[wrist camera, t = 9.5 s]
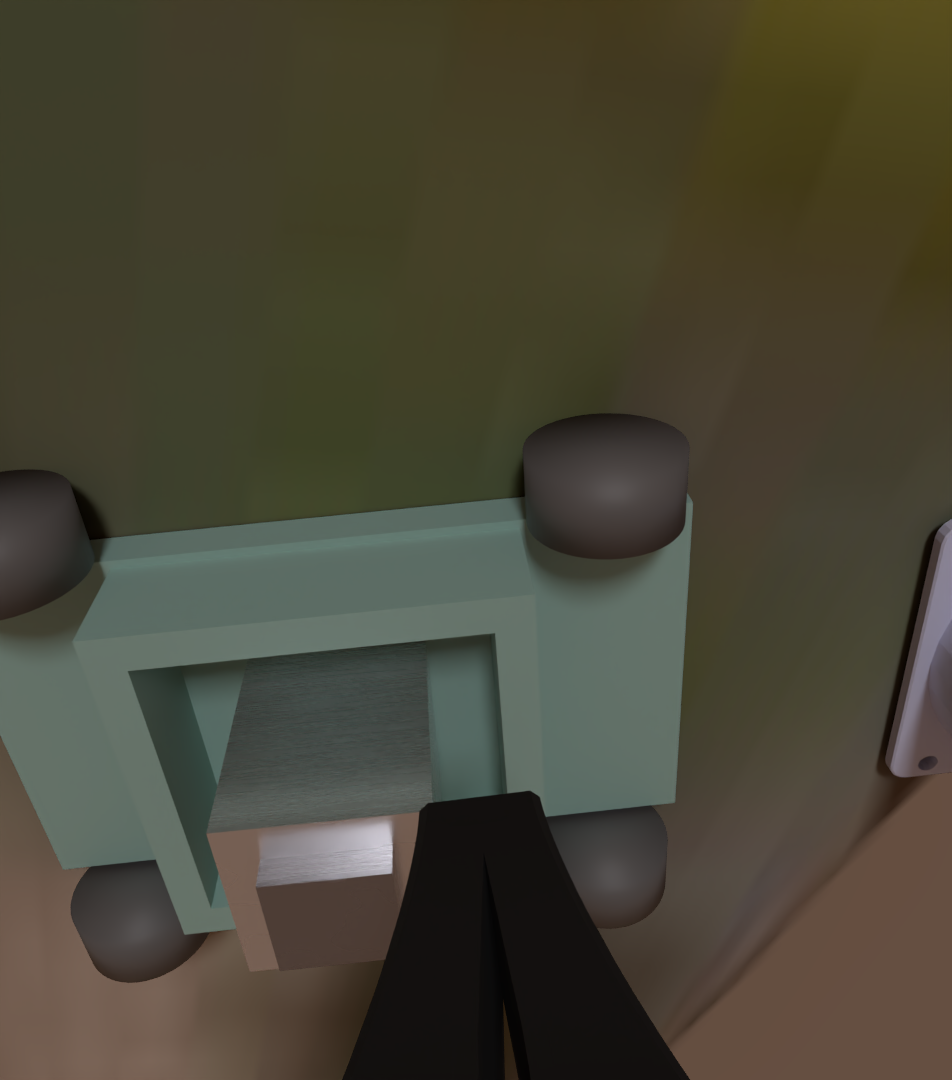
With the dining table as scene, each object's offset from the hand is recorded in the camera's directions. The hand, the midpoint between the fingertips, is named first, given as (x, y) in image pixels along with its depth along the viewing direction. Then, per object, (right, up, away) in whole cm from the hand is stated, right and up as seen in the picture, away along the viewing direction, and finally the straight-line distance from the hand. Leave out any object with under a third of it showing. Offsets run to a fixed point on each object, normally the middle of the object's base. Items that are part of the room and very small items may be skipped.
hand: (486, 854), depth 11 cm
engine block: (-3, 0, +10) cm, 11 cm away
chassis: (-3, 0, +11) cm, 11 cm away
